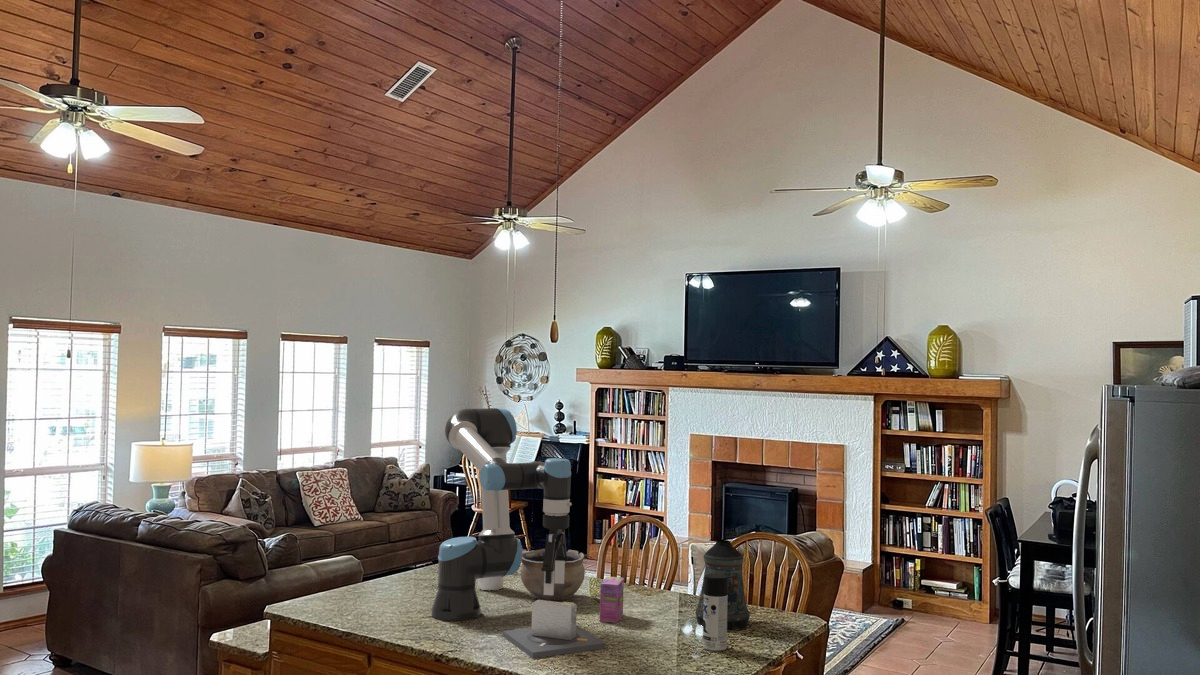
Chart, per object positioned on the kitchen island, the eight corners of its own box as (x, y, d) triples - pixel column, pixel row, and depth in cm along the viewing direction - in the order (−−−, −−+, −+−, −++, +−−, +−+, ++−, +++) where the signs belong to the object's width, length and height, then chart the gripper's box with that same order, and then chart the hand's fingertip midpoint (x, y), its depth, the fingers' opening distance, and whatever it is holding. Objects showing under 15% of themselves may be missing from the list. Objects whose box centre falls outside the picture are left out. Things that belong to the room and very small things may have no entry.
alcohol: (478, 585, 317) (480, 501, 318) (502, 585, 318) (505, 501, 319) (477, 591, 308) (479, 504, 310) (503, 591, 309) (505, 504, 310)
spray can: (700, 644, 250) (701, 573, 251) (724, 644, 250) (725, 573, 252) (705, 652, 243) (706, 578, 244) (729, 651, 244) (730, 578, 245)
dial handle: (531, 635, 250) (532, 601, 250) (537, 631, 254) (538, 597, 254) (570, 640, 246) (571, 605, 246) (576, 636, 249) (576, 602, 250)
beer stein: (713, 633, 262) (714, 547, 263) (681, 616, 280) (682, 537, 281) (760, 627, 269) (760, 544, 270) (726, 612, 286) (727, 534, 288)
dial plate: (502, 636, 254) (503, 630, 255) (572, 628, 264) (572, 622, 264) (532, 658, 235) (532, 651, 235) (606, 648, 245) (606, 642, 245)
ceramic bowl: (596, 597, 303) (597, 553, 304) (560, 610, 285) (561, 563, 285) (544, 588, 315) (545, 545, 316) (506, 600, 296) (507, 555, 297)
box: (617, 623, 270) (618, 584, 271) (599, 622, 272) (600, 583, 272) (623, 615, 281) (624, 577, 281) (605, 613, 282) (606, 576, 282)
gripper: (559, 521, 239) (557, 600, 238) (577, 507, 263) (575, 579, 262) (532, 519, 240) (530, 598, 239) (553, 506, 264) (551, 577, 264)
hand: (554, 589), depth 251 cm, fingers open, 13 cm apart
